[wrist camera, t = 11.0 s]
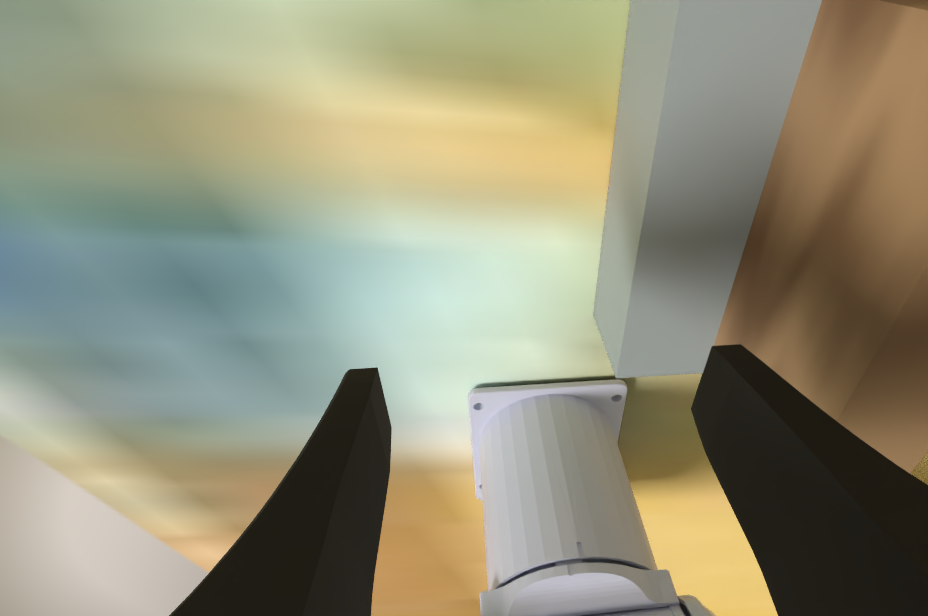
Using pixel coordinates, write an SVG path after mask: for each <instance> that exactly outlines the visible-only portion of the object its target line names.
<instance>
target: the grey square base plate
mask: <svg viewBox="0 0 928 616" xmlns="http://www.w3.org/2000/svg"><path fill="white" fill-rule="evenodd" d="M821 2H822V0H631V1H630V10H629V18H628V27H627V35H626V44H625V52H624V61H623V69H622V78H621V86H620V94H619V103H618V111H617V120H616V128H615V137H614V145H613V154H612V162H611V171H610V179H609V188H608V196H607V205H606V213H605V222H604V230H603V239H602V247H601V255H600V264H599V272H598V281H597V289H596V298H595V306H594V315H593V316H594V319H595V321H596V324H597V327H598V330H599V332H600V335H601V338H602V341H603V344H604V346H605V349H606V352H607V355H608V357H609V360H610V363H611V366H612V368H613V371H614V374H615V377H616V378H631V377H647V376H663V375H680V374H696V373H703V371H704V368H705V365H706V362H707V359H708V356H709V353H710V350H711V347H712V346H714V343H715V340H716V337H717V333H718V330H719V327H720V324H721V321H722V317H723V314H724V311H725V308H726V305H727V302H728V298H729V295H730V292H731V289H732V286H733V282H734V279H735V276H736V273H737V270H738V266H739V263H740V260H741V257H742V254H743V251H744V247H745V244H746V241H747V238H748V235H749V231H750V228H751V225H752V222H753V219H754V215H755V212H756V209H757V206H758V203H759V200H760V196H761V193H762V190H763V187H764V184H765V180H766V177H767V174H768V171H769V168H770V164H771V161H772V158H773V155H774V152H775V149H776V145H777V142H778V139H779V136H780V133H781V129H782V126H783V123H784V120H785V117H786V113H787V110H788V107H789V104H790V101H791V98H792V94H793V91H794V88H795V85H796V82H797V78H798V75H799V72H800V69H801V66H802V62H803V59H804V56H805V53H806V50H807V47H808V43H809V40H810V37H811V34H812V31H813V27H814V24H815V21H816V18H817V15H818V11H819V8H820V5H821Z"/></svg>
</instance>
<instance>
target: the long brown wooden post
mask: <svg viewBox="0 0 928 616" xmlns="http://www.w3.org/2000/svg"><path fill="white" fill-rule="evenodd" d="M735 344H741V345H742V346H744V347H745V348H746V349H747V350H749V351H750V352H751V353H753V354H754V355H755V356H756V357H758V358H759V359H760V360H761V361H762V362H764V363H765V364H766V365H767V366H769V367H770V368H771V369H772V370H773V371H775V372H776V373H777V374H778V375H780V376H781V377H782V378H783V379H784V380H786V381H787V382H788V383H789V384H791V385H792V386H793V387H794V388H795V389H797V390H798V391H799V392H800V393H802V394H803V395H804V396H805V397H807V398H808V399H809V400H810V401H812V402H813V403H814V404H815V405H817V406H818V407H819V408H820V409H822V410H823V411H824V412H826V413H827V414H828V415H829V416H831V417H832V418H833V419H835V420H836V421H837V422H838V423H840V424H841V425H842V426H844V427H845V428H846V429H848V430H849V431H850V432H852V433H853V434H854V435H856V436H857V437H858V438H860V439H861V440H863V441H864V442H865V443H867V444H868V445H870V446H871V447H872V448H874V449H875V450H877V451H878V452H879V453H881V454H882V455H884V456H885V457H886V458H888V459H889V460H891V461H892V462H893V463H895V464H896V465H898V466H899V467H901V468H902V469H904V470H905V471H907V472H908V473H910V474H911V472H912V471H913V470H914V469H915V467H916V466H917V465H918V463H919V462H920V461H921V460H922V458H923V457H924V456H925V454H926V453H927V452H928V0H822V2H821V5H820V8H819V11H818V15H817V18H816V21H815V24H814V27H813V31H812V34H811V37H810V40H809V43H808V47H807V50H806V53H805V56H804V59H803V62H802V66H801V69H800V72H799V75H798V78H797V82H796V85H795V88H794V91H793V94H792V98H791V101H790V104H789V107H788V110H787V113H786V117H785V120H784V123H783V126H782V129H781V133H780V136H779V139H778V142H777V145H776V149H775V152H774V155H773V158H772V161H771V164H770V168H769V171H768V174H767V177H766V180H765V184H764V187H763V190H762V193H761V196H760V200H759V203H758V206H757V209H756V212H755V215H754V219H753V222H752V225H751V228H750V231H749V235H748V238H747V241H746V244H745V247H744V251H743V254H742V257H741V260H740V263H739V266H738V270H737V273H736V276H735V279H734V282H733V286H732V289H731V292H730V295H729V298H728V302H727V305H726V308H725V311H724V314H723V317H722V321H721V324H720V327H719V330H718V333H717V337H716V340H715V343H714V346H719V345H735Z"/></svg>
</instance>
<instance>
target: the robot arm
mask: <svg viewBox="0 0 928 616" xmlns="http://www.w3.org/2000/svg"><path fill="white" fill-rule="evenodd" d="M627 391H628V389H627V385H626V383H625V382H624V381H623V380H619V379H615V380H599V381H582V382H566V383H550V384H534V385H517V386H501V387H485V388H475V389H472V390H470V392H469V393H468V404H469V416H470V429H471V441H472V453H473V466H474V478H475V490H476V497H477V498H478V499H479V500H483V516H484V532H485V549H486V565H487V581H488V591H484V592H481V593H480V610H481V616H716V615H715V614H714V613H713V612H712V611H710V610H709V609H708V608H706V607H705V606H704V605H702V603H701V602H700V601H699V600H698V599H697V598H696V597H694V596H692V595H682V596H677V594H676V591H675V588H674V585H673V582H672V579H671V576H670V573H669V571H668V570H658V569H657V566H656V563H655V560H654V557H653V554H652V550H651V547H650V544H649V541H648V538H647V535H646V532H645V529H644V525H643V522H642V519H641V516H640V513H639V510H638V507H637V504H636V500H635V497H634V494H633V491H632V488H631V485H630V482H629V479H628V475H627V472H626V469H625V466H624V463H623V460H622V457H621V454H620V450H619V447H618V444H617V443H618V438H619V432H620V427H621V422H622V417H623V412H624V406H625V401H626V396H627ZM614 395H616V396H614ZM477 403H481V404H477ZM691 410H692V413H693V416H694V420H695V423H696V426H697V429H698V432H699V435H700V438H701V441H702V444H703V447H704V450H705V452H706V455H707V457H708V459H709V461H710V463H711V465H712V467H713V470H714V472H715V474H716V476H717V478H718V480H719V482H720V484H721V486H722V488H723V490H724V492H725V495H726V497H727V499H728V501H729V503H730V505H731V507H732V509H733V511H734V513H735V515H736V517H737V519H738V521H739V523H740V525H741V527H742V529H743V532H744V534H745V536H746V538H747V540H748V542H749V544H750V546H751V548H752V550H753V552H754V555H755V557H756V559H757V561H758V564H759V566H760V568H761V571H762V573H763V576H764V578H765V581H766V584H767V587H768V589H769V592H770V595H771V597H772V600H773V603H774V605H775V608H776V611H777V613H778V616H928V485H927V484H925V483H924V482H922V481H920V480H919V479H917V478H916V477H914V476H913V475H911V474H910V473H908V472H907V471H905V470H904V469H902V468H901V467H899V466H898V465H896V464H895V463H893V462H892V461H891V460H889V459H888V458H886V457H885V456H884V455H882V454H881V453H879V452H878V451H877V450H875V449H874V448H872V447H871V446H870V445H868V444H867V443H865V442H864V441H863V440H861V439H860V438H858V437H857V436H856V435H854V434H853V433H852V432H850V431H849V430H848V429H846V428H845V427H844V426H842V425H841V424H840V423H838V422H837V421H836V420H835V419H833V418H832V417H831V416H829V415H828V414H827V413H826V412H824V411H823V410H822V409H820V408H819V407H818V406H817V405H815V404H814V403H813V402H812V401H810V400H809V399H808V398H807V397H805V396H804V395H803V394H802V393H800V392H799V391H798V390H797V389H795V388H794V387H793V386H792V385H791V384H789V383H788V382H787V381H786V380H784V379H783V378H782V377H781V376H780V375H778V374H777V373H776V372H775V371H773V370H772V369H771V368H770V367H769V366H767V365H766V364H765V363H764V362H762V361H761V360H760V359H759V358H758V357H756V356H755V355H754V354H753V353H751V352H750V351H749V350H747V349H746V348H745V347H744V346H742V345H741V344H735V345H719V346H712V347H711V350H710V353H709V356H708V359H707V362H706V365H705V368H704V371H703V374H702V377H701V380H700V383H699V386H698V389H697V392H696V395H695V398H694V401H693V404H692V408H691ZM390 455H391V424H390V419H389V415H388V411H387V407H386V402H385V398H384V394H383V389H382V385H381V381H380V377H379V372H378V368H365V369H350V370H348V371H347V372H346V373H345V375H344V377H343V379H342V381H341V383H340V385H339V387H338V389H337V391H336V393H335V395H334V397H333V399H332V400H331V402H330V404H329V406H328V408H327V409H326V411H325V413H324V415H323V416H322V418H321V420H320V422H319V423H318V425H317V427H316V428H315V430H314V432H313V433H312V435H311V437H310V438H309V440H308V442H307V443H306V445H305V446H304V448H303V450H302V451H301V453H300V454H299V456H298V458H297V459H296V461H295V462H294V464H293V465H292V467H291V468H290V469H289V471H288V472H287V474H286V475H285V477H284V478H283V480H282V481H281V483H280V484H279V486H278V487H277V488H276V490H275V491H274V493H273V494H272V496H271V497H270V498H269V500H268V501H267V502H266V504H265V505H264V506H263V508H262V509H261V511H260V512H259V513H258V514H257V516H256V517H255V518H254V520H253V521H252V522H251V523H250V525H249V526H248V527H247V529H246V530H245V531H244V532H243V534H242V535H241V536H240V537H239V539H238V540H237V541H236V542H235V543H234V545H233V546H232V547H231V548H230V549H229V550H228V552H227V553H226V554H225V555H224V556H223V557H222V559H221V560H220V561H219V562H218V563H217V564H216V566H215V567H214V568H213V569H212V570H211V571H210V573H209V574H208V575H207V576H206V577H205V579H203V581H202V582H201V583H200V584H199V585H198V586H197V587H196V588H195V589H194V590H193V592H192V593H191V594H190V595H189V596H188V597H187V598H186V599H185V600H184V601H183V602H182V603H181V604H180V605H179V606H178V607H177V608H176V609H175V610H174V611H173V612H172V613H171V615H169V616H371V603H372V591H373V582H374V573H375V566H376V560H377V553H378V547H379V540H380V534H381V527H382V521H383V514H384V508H385V501H386V494H387V487H388V480H389V473H390Z"/></svg>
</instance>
